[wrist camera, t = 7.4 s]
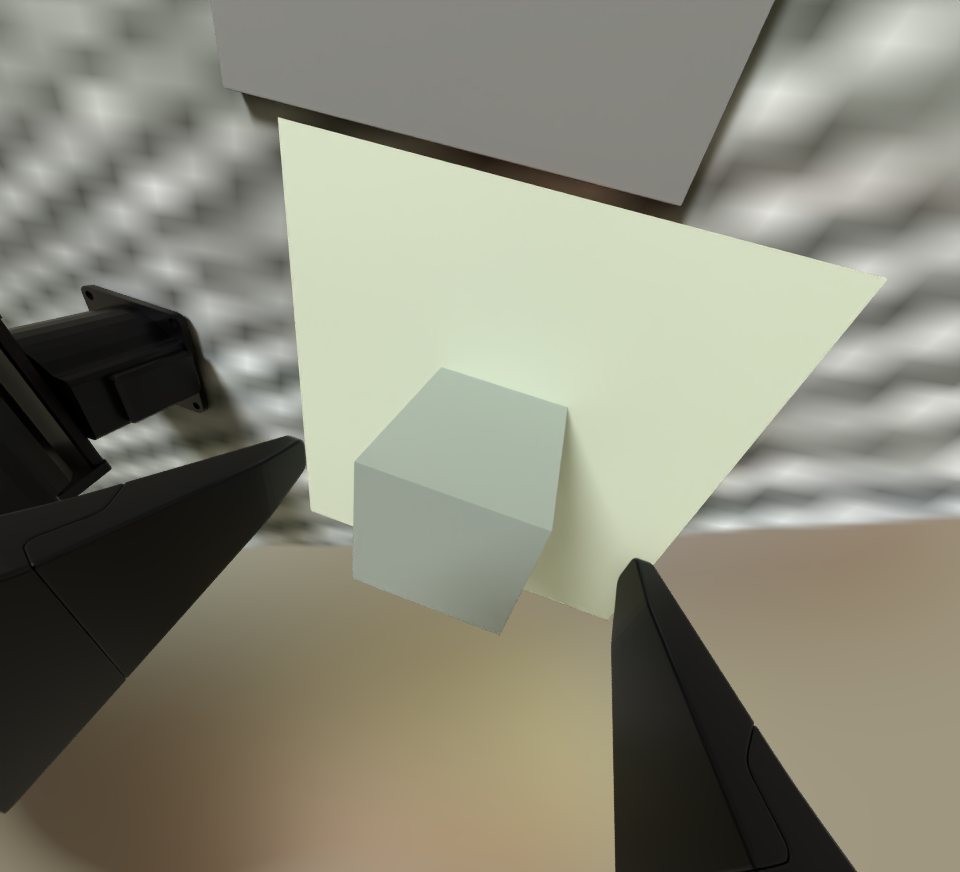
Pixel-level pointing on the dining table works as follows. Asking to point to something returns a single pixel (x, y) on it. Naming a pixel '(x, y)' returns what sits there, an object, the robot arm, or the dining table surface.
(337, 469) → the cover
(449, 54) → the grey square panel
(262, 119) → the dining table surface
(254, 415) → the dining table surface
